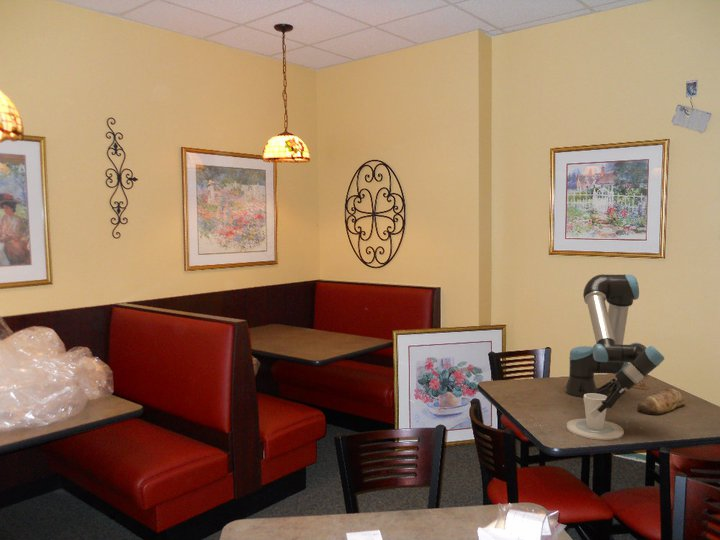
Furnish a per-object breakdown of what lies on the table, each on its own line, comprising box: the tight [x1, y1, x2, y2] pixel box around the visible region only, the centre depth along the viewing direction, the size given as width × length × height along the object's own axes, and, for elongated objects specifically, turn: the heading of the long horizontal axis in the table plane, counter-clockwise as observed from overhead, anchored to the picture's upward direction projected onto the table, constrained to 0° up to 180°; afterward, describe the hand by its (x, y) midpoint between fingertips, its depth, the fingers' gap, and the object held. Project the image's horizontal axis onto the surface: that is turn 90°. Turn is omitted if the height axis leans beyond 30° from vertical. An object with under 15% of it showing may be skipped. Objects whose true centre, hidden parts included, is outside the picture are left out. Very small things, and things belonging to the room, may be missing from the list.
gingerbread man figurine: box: [631, 374, 650, 391], centre depth 301 cm, size 9×4×12 cm, turn 50°
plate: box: [566, 417, 625, 441], centre depth 241 cm, size 22×22×1 cm
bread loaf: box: [637, 388, 685, 416], centre depth 269 cm, size 35×18×9 cm, turn 134°
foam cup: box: [583, 393, 608, 430], centre depth 240 cm, size 10×9×13 cm
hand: (589, 410), depth 241 cm, fingers open, 13 cm apart
